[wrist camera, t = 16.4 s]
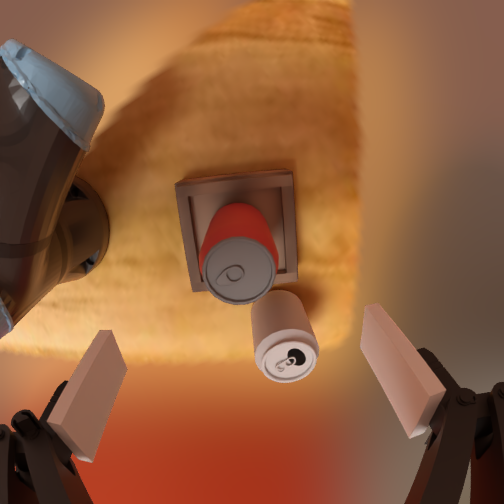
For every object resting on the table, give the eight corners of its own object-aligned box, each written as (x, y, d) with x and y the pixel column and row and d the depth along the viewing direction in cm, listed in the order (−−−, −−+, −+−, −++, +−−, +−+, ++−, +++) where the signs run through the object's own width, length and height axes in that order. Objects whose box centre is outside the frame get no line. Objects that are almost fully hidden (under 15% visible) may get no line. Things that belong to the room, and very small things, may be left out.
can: (310, 316, 42) (332, 369, 31) (266, 339, 43) (275, 396, 32) (287, 277, 40) (305, 326, 28) (240, 303, 41) (242, 358, 29)
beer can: (198, 218, 32) (178, 256, 21) (250, 191, 32) (258, 213, 20) (226, 266, 34) (222, 323, 23) (277, 241, 34) (297, 288, 22)
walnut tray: (196, 276, 39) (190, 294, 34) (181, 180, 35) (172, 184, 30) (292, 266, 39) (299, 283, 34) (286, 168, 35) (294, 171, 30)
